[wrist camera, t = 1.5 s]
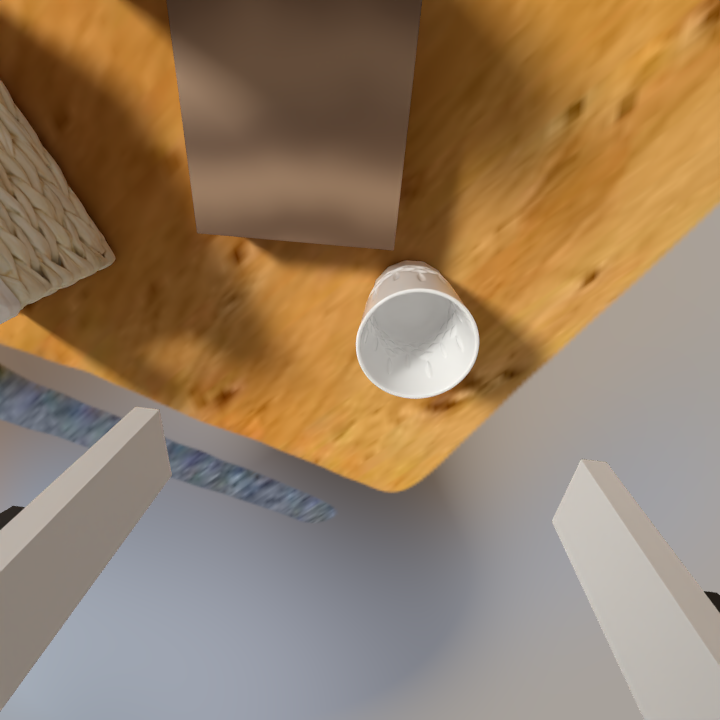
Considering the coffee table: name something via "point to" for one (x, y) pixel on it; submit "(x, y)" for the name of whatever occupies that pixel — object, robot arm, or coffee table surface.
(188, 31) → the walnut block
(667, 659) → the robot arm
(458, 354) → the white cup
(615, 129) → the coffee table surface
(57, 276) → the storage basket
